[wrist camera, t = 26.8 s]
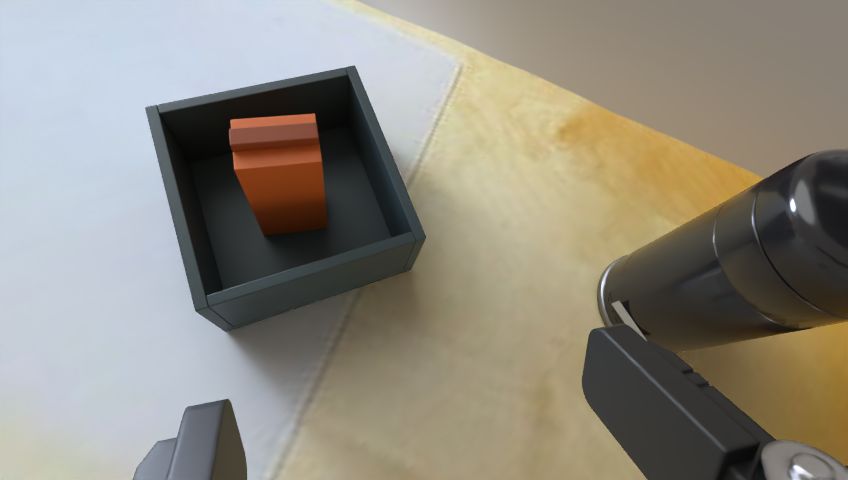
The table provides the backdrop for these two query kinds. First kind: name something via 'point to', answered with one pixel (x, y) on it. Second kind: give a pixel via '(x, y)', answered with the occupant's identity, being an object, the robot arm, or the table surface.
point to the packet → (281, 171)
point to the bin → (233, 216)
